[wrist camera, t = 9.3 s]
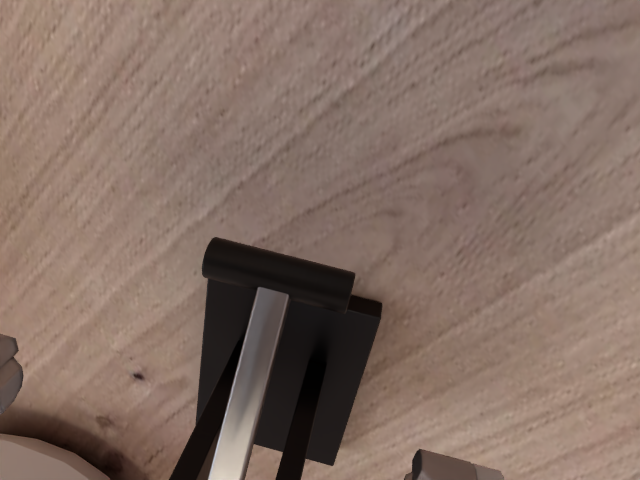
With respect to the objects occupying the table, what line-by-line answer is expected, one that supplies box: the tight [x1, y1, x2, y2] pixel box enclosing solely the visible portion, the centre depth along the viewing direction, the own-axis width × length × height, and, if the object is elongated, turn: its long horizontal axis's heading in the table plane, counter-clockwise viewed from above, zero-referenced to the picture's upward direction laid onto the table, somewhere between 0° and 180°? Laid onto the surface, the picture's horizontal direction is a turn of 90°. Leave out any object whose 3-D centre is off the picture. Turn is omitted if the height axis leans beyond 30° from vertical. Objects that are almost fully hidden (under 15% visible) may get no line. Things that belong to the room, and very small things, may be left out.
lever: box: [202, 237, 355, 480], centre depth 16 cm, size 15×5×2 cm
